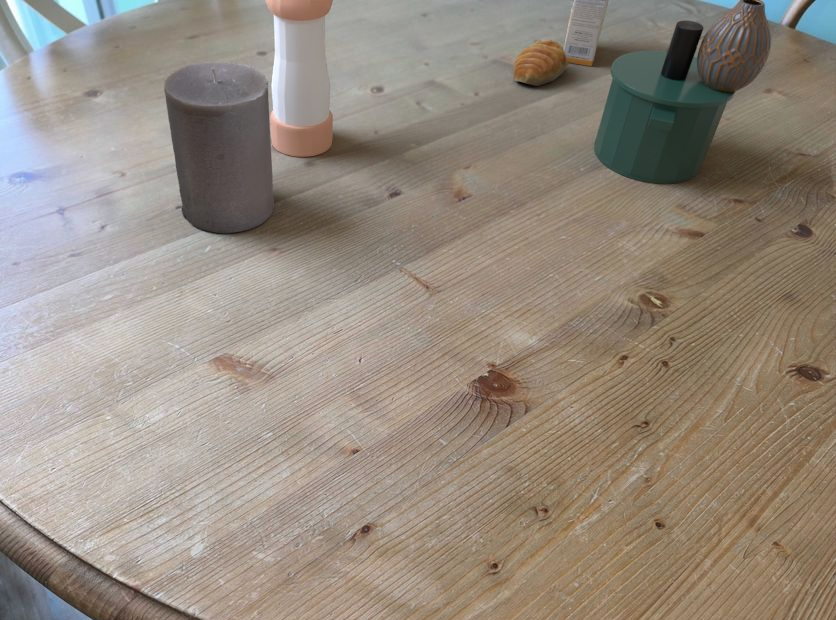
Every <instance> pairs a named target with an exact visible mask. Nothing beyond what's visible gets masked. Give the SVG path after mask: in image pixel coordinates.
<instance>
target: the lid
mask: <svg viewBox="0 0 836 620" xmlns="http://www.w3.org/2000/svg"><path fill="white" fill-rule="evenodd" d="M703 31H704V26H703V24H701V23H699V22H697V21H693V20H679V21H677V22H676V25H675V27H674V30H673V33H672V37H671V39H670V43H669V46H668V48H667V50H638V51H637V50H636V51H631V52H627V53H624V54H622V55H620V56H618V57H617V58H615V60H613V62H612V64H611V68H610V75H611V78H612V79H614V81H615V82H616V83H617V84H618V85H619V86H620V87H622V88H623V89H625V90H626V91H628V92H630V93H632V94H634V95H636V96H638V97H640V98H643V99H646V100H649V101H652V102H655V103H659V104H664V105H668V106H674V107H682V108H708V107H715V106H719V105H722V104H724V103H726V102H727V103H728V102H730V101H731V100H732V99H733V98H734V96H735V94H736V92H737V91H734V92H724V91H718V90H715V89H712V88H710V87H708V86H706V85H705V84H704V83H703V81H702V80H701V78H700V76H699V73H698V70H697V57H696V56H695V54H696V51H697V48H698V46H699V42H700V40H701V37H702V34H703Z"/></svg>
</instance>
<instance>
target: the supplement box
mask: <svg viewBox="0 0 836 620" xmlns="http://www.w3.org/2000/svg"><path fill="white" fill-rule="evenodd" d="M609 1H610V0H573V1H572V6H571V10H570V14H569V18H568V25H567V29H566V33H565V34H566V35H565V39H564V44H563V50H564V53H565V54H566V58H567V61H568V64H575V65H576V64H577V65H582V66H589V67H592V66H593V64H594V61H595V56H596V52H597V49H598V45H599V41H600V37H601V32H602V28H603V24H604V20H605V17H606V13H607V8H608V4H609Z"/></svg>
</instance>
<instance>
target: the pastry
mask: <svg viewBox="0 0 836 620" xmlns="http://www.w3.org/2000/svg"><path fill="white" fill-rule="evenodd" d="M563 49H564V46H562V45H561V44H560V43H559V42H557V41H555V40H552V39H545V40H540V39H539V40H538V39H537V41H536V42H534V43H531V45H530V46H527V47H526V48H525V49H523V50H522V51H521V52H520V53H519V54H518V55H517V57H516V58H515V60H514V66H513V67H514V68H513V72H512V78H513V80H514V82H520V83H523V84H528V85H532V86H536V87H538V86H542V85H545V84H549V83H551V82H553V81H555V80H556V79H558V78H559V77H560V76H561V75H563V72H564V71H565V70H566V69H567V67H568V66H569V63H568V61H567V58H566V54H565V53H564V50H563Z"/></svg>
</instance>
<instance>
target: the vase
mask: <svg viewBox="0 0 836 620" xmlns="http://www.w3.org/2000/svg"><path fill="white" fill-rule="evenodd" d="M766 15H767V14H766V4H765V2H764V1H762V0H739V1H738V2H737V3H736V4H735V5H734V7H732V8H731V9H730V10H728V11H727V12H725V13H724V14H723V15H722V16H721V17H719V18H718V19H717V20H715V22H714V23H713V24H712V25H710V27H709V28H708V30H707V31H706V33H705V35H704V36H703V38H702V40H701V42H700V44H699V48H698V52H697V57H696V58H697V70H698V73H699V76H700V78H701V80H702V81H703V83H704V84H705V85H706V86H708V87H710V88H712V89H715V90H718V91H724V92H734V91H736V92H738V91H740V90H742V89H744V88H745V87H747V86H748V85H750V84H752V83H753V82H754V81H755V79H756V78H757V77H758V76H759V75H760V74H761V72H762V71H763V69H764V67H765V65H766V63H767V61H768V58H769V56H770V53H771V48H772V31H771V27H770V24H769V21H768V19H767V16H766Z"/></svg>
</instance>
